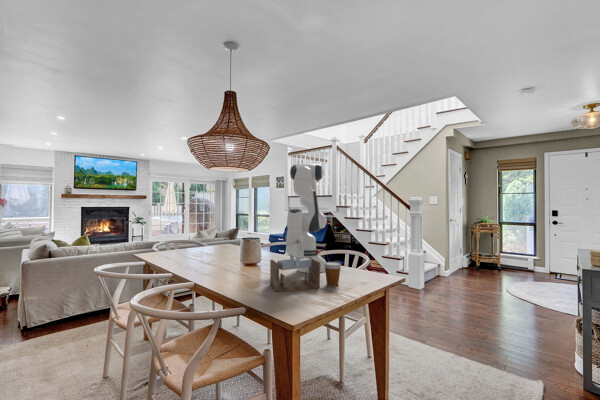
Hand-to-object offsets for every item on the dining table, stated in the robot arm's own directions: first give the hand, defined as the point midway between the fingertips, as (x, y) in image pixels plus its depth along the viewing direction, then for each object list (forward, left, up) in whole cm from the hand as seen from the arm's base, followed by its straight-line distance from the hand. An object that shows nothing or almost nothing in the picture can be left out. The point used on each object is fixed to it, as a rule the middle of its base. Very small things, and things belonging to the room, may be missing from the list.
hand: (294, 264), depth 161 cm
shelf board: (0, 0, -2) cm, 2 cm away
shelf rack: (0, 0, -12) cm, 12 cm away
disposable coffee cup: (-21, +4, -12) cm, 25 cm away
